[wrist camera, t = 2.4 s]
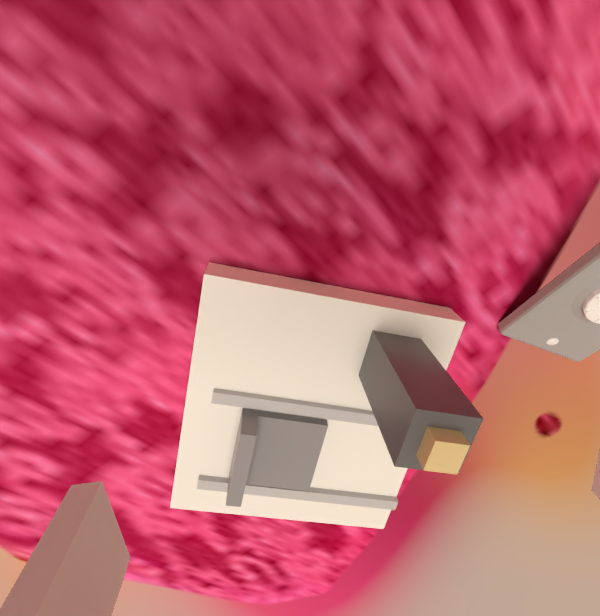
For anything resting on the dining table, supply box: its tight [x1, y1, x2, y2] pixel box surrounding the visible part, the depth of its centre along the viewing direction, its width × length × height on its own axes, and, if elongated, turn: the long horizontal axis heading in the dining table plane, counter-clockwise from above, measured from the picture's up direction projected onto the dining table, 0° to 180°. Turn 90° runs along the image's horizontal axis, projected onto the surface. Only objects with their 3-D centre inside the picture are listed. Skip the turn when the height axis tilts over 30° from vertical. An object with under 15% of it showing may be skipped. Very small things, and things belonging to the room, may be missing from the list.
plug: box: [359, 330, 483, 474], centre depth 28 cm, size 4×4×11 cm
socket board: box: [170, 262, 465, 529], centre depth 36 cm, size 20×22×4 cm
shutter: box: [226, 408, 328, 507], centre depth 34 cm, size 7×7×3 cm
